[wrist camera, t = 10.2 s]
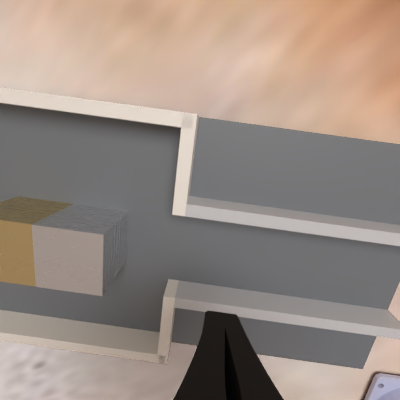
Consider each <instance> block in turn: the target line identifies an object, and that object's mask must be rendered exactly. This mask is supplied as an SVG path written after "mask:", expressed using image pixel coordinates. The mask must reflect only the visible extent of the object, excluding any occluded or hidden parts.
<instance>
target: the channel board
mask: <svg viewBox="0 0 400 400" xmlns="http://www.w3.org/2000/svg"><path fill="white" fill-rule="evenodd" d="M17 196H20V197H27V198H34V199H42V200H49V201H56V202H63V203H70V204H76V205H83V206H90V207H98V208H105V209H112V210H119V211H126V212H128V231H127V250H126V262H125V263H124V265H123V266H122V268H121V269H120V271H119V272H118V274H117V275H116V277H115V278H114V280H113V281H112V283H111V284H110V286H109V287H108V289H107V290H106V292H105V293H104V294H103V296H97V295H90V294H83V293H76V292H69V291H62V290H55V289H47V288H40V287H35V286H28V285H21V284H14V283H6V282H0V341H7V342H14V343H21V344H28V345H35V346H42V347H49V348H56V349H63V350H70V351H77V352H84V353H91V354H98V355H105V356H112V357H119V358H126V359H133V360H140V361H147V362H154V363H161V364H167V361H168V356H169V351H170V346H171V342H176V343H183V344H190V345H197V346H198V343H199V340H200V338H201V334H202V329H203V323H204V317H205V312H207V311H216V312H223V313H230V314H237V316H238V317H239V319H240V322H241V324H242V326H243V328H244V331H245V333H246V335H247V337H248V339H249V341H250V343H251V345H252V347H253V349H254V351H255V352H256V354H261V355H268V356H275V357H282V358H289V359H296V360H303V361H310V362H317V363H324V364H331V365H338V366H345V367H352V368H359V369H363V367H364V365H365V362H366V360H367V358H368V355H369V353H370V350H371V348H372V346H373V343H374V341H375V339H376V336H379V337H386V338H393V339H400V321H399V320H398V319H397V318H395V317H394V316H393V315H392V314H391V313H390V312H389V311H388V308H389V305H390V303H391V301H392V298H393V296H394V294H395V291H396V289H397V286H398V284H399V282H400V144H392V143H385V142H378V141H370V140H363V139H356V138H348V137H341V136H334V135H326V134H319V133H312V132H304V131H297V130H290V129H282V128H275V127H268V126H260V125H253V124H246V123H239V122H231V121H224V120H217V119H209V118H202V117H199V116H198V115H197V114H192V113H185V112H178V111H170V110H163V109H156V108H149V107H141V106H134V105H127V104H119V103H112V102H105V101H97V100H90V99H83V98H75V97H68V96H61V95H53V94H46V93H39V92H31V91H24V90H17V89H9V88H2V87H0V202H1V201H4V200H8V199H11V198H14V197H17Z"/></svg>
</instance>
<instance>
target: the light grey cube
mask: <svg viewBox="0 0 400 400" xmlns="http://www.w3.org/2000/svg"><path fill="white" fill-rule="evenodd" d="M127 231H128V212H126V211H119V210H112V209H105V208H98V207H90V206H83V205H76V204H72V205H70V206H68V207H66V208H64V209H62V210H60V211H58V212H56V213H54V214H52V215H50V216H48V217H46V218H44V219H42V220H40V221H38V222H36V223H34V224H32V238H33V252H34V267H35V281H36V287H40V288H47V289H55V290H62V291H69V292H76V293H83V294H90V295H97V296H103V294H104V293H105V292H106V290H107V289H108V287H109V286H110V284H111V283H112V281H113V280H114V278H115V277H116V275H117V274H118V272H119V271H120V269H121V268H122V266H123V265H124V263H125V262H126V250H127Z"/></svg>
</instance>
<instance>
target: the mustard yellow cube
mask: <svg viewBox="0 0 400 400" xmlns="http://www.w3.org/2000/svg"><path fill="white" fill-rule="evenodd" d="M70 205H72V204H70V203H63V202H56V201H49V200H42V199H34V198H27V197H20V196H17V197H14V198H11V199H8V200H4V201H1V202H0V282H6V283H14V284H21V285H28V286H35V287H36V281H35V267H34V252H33V238H32V224H34V223H36V222H38V221H40V220H42V219H44V218H46V217H48V216H50V215H52V214H54V213H56V212H58V211H60V210H62V209H64V208H66V207H68V206H70Z"/></svg>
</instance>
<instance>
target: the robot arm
mask: <svg viewBox="0 0 400 400" xmlns="http://www.w3.org/2000/svg"><path fill="white" fill-rule="evenodd" d="M173 400H284V399H283V398H282V396H281V395H280V393H279V392H278V390H277V389H276V387H275V385H274V384H273V382H272V380H271V379H270V377H269V376H268V374H267V372H266V370H265V369H264V367H263V365H262V363H261V362H260V360H259V358H258V356H257V354H256V352H255V351H254V349H253V347H252V345H251V343H250V341H249V339H248V337H247V335H246V333H245V331H244V328H243V326H242V324H241V322H240V319H239V317H238V316H237V314H230V313H223V312H216V311H207V312H205V317H204V323H203V329H202V334H201V338H200V340H199V343H198V346H197V349H196V352H195V354H194V357H193V359H192V361H191V364H190V366H189V368H188V371H187V373H186V375H185V377H184V380H183V382H182V384H181V386H180V388H179V390H178V392H177V394H176V396H175V397H174V399H173ZM364 400H400V376H397V375H390V374H383V373H378V374H376V375H375V376H374V379H373V381H372V383H371V385H370V388H369V390H368V392H367V394H366V396H365V399H364Z"/></svg>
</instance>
